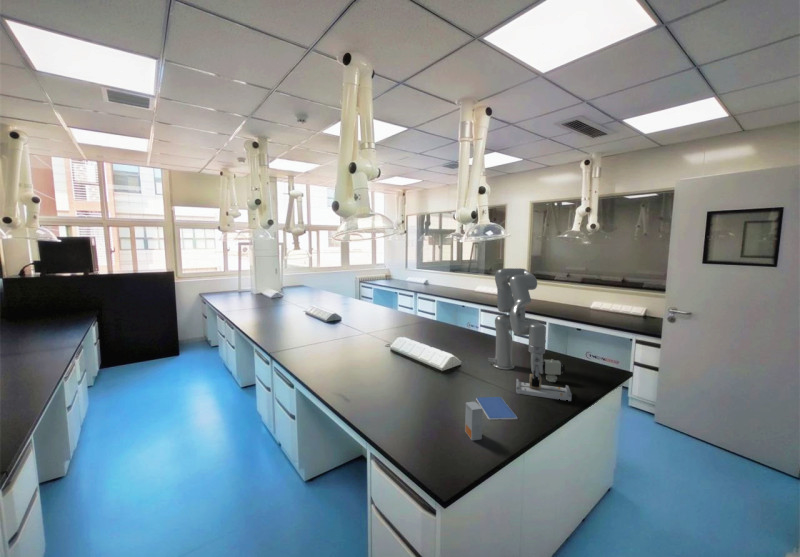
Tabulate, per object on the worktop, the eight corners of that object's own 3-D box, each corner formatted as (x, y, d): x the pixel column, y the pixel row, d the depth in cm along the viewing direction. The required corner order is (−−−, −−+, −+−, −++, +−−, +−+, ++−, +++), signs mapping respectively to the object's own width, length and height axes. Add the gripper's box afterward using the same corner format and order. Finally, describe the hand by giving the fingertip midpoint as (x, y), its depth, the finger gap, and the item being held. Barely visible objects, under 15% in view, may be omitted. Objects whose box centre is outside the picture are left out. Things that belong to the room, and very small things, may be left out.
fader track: (516, 393, 155) (516, 386, 155) (516, 385, 164) (516, 378, 164) (571, 401, 147) (571, 393, 147) (567, 392, 156) (567, 385, 156)
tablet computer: (518, 420, 131) (518, 417, 131) (488, 421, 130) (488, 418, 130) (501, 399, 150) (501, 396, 150) (475, 399, 149) (475, 397, 149)
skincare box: (464, 432, 121) (465, 402, 120) (474, 430, 122) (475, 400, 121) (471, 441, 115) (472, 409, 114) (482, 439, 116) (483, 408, 115)
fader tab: (529, 388, 156) (530, 376, 155) (529, 385, 159) (529, 373, 159) (540, 389, 154) (541, 377, 154) (540, 386, 157) (540, 374, 157)
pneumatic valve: (564, 383, 166) (565, 361, 165) (540, 381, 169) (541, 359, 168) (561, 379, 172) (562, 358, 171) (538, 377, 175) (539, 356, 174)
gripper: (546, 354, 146) (545, 393, 147) (543, 345, 161) (542, 379, 163) (529, 352, 148) (527, 390, 150) (527, 343, 164) (526, 377, 165)
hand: (535, 384), depth 156 cm, fingers closed on fader tab, 3 cm apart
